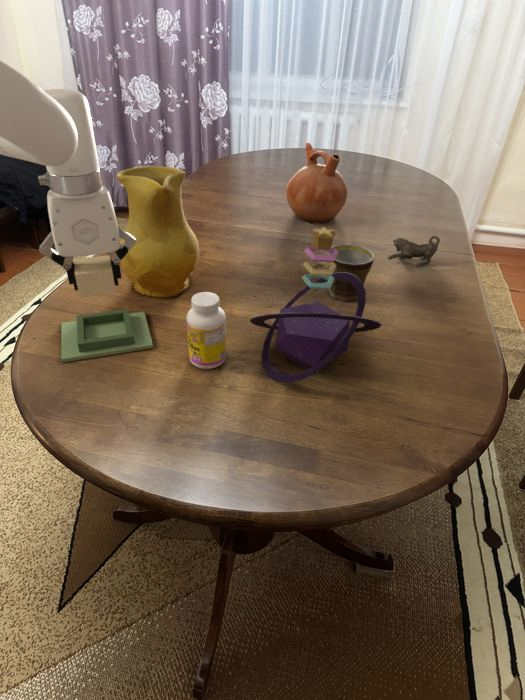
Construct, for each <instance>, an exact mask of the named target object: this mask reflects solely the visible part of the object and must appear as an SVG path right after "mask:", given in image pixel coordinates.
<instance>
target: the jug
mask: <svg viewBox="0 0 525 700" xmlns="http://www.w3.org/2000/svg"><path fill="white" fill-rule="evenodd" d="M305 154H306V162H307V163H306V166H304V167H302V168H300V169H299V170H297V171H296V173H294V175H293V176H292V177H291V178H290V180H289V181H288V183H287V185H286V202H287V204H288V206H289V208H290V209H291V211H292V212H293V214H294V215H295V217H297V219H299V220H300V221H303V222H305V223H309V224H325V223H330V222H331V221H332V220H333V219H334V218H335V217H336V216H337V215H338V214H339V213H340V211H342V209H343V207H345V204H346V201H347V198H348V187H347V185H346V182H345V179H344V178H343V176H342V175H341V174H340V172H339V171H338V170H337V168H338V165H339V163H340V161H341V157H340V156H339V154H338V153H332V154H331V155H330V154H329V153H327V152H326V151H325V150H317V149H315V148H313V145H312V144H311V142H306V143H305ZM319 157H321V158H322V159H323V161H324V164H322V163H319V162H318V158H319Z"/></svg>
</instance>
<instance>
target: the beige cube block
mask: <svg viewBox="0 0 525 700" xmlns="http://www.w3.org/2000/svg"><path fill="white" fill-rule="evenodd" d="M110 260H111V258H110V256H109V255H108V254H107V255H98V256H90V257H89V256H88V257H78V258H73V263H74V264H75V277H76V282H77V286H78V290H77V291H78V294H79V298H89V297H90V298H91V297H97V296H105V295H113V294H117V290H116V285H115V283H114V278H113V272H112V266H111V261H110Z"/></svg>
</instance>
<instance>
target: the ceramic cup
mask: <svg viewBox="0 0 525 700" xmlns="http://www.w3.org/2000/svg"><path fill="white" fill-rule="evenodd" d="M332 248H335V249H336V250H337V251H338V254H337V256H336V258H335V260H334V261H333V262H334V263H335V264H336V267H335V270H334V272H333V273H336V272H348V273H351V274H354V275H356V276H357V277H358V278H359V279H360V280H361V281H362V283H363V286H365V285H364V284H365V282H366V280H367V277H368V275H369V273H370V272H371V270H372V269H371V268H372V266H373V263H374V261H375V253H373V252H372V251H371V250H369V249H368V248H366V247H364V246H360V245H357V244H345V243H344V244H337V245H333V246H332ZM330 255H331V254H330V253H327V256H330ZM319 266H320V264H316V265H315V269H319ZM327 270H329V267H327ZM328 290H329V294H330V296H331V297H332V298H333V299H335V300H338V301H342V302H352V301H356V300H358V296H357V292H356V289H355V287H354V286H353V285H352V284H351V283H350V282H348V281H345V280H342V279H338V280H334V281H333V283H332V285H331V288H329V289H328Z"/></svg>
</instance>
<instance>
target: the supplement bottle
mask: <svg viewBox="0 0 525 700" xmlns="http://www.w3.org/2000/svg"><path fill="white" fill-rule="evenodd" d="M220 303H221V302H220V297H219V295H217V294H216V293H214V292H212V291H211V292H210V291H201V292H198V293H195V294H194V295H192V297H191V299H190V304H191V305H190V306H191V308H190V309H189V310H188V312H187V314H186V328H187V329H186V330H187V344H188V359H189V361H190V363H191V364H192V365H193V366H195V367H196V368H198V369H203V370H210V369H215V368H218V367H219V366H221V365H222V364H224V362H225V360H226V354H227V353H226V352H227V350H226V349H227V347H226V343H227V342H226V339H227V337H226V336H227V335H226V313H225V311H224V310H223V308H222V307H220V305H221V304H220Z"/></svg>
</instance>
